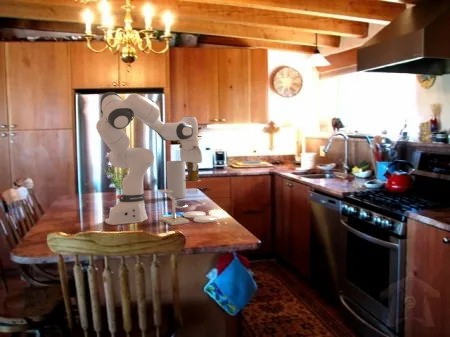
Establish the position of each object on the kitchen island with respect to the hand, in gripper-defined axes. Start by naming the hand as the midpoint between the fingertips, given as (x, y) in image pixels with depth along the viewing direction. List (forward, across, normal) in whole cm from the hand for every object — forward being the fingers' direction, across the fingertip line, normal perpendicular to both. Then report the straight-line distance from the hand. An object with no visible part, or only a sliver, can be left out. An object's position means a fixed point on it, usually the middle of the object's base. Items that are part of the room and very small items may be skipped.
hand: (191, 170), depth 259 cm
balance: (+25, -11, +16) cm, 32 cm away
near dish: (+25, -18, +2) cm, 31 cm away
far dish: (+25, -4, +1) cm, 25 cm away
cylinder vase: (+25, +58, -17) cm, 65 cm away
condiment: (+6, 0, 0) cm, 6 cm away
